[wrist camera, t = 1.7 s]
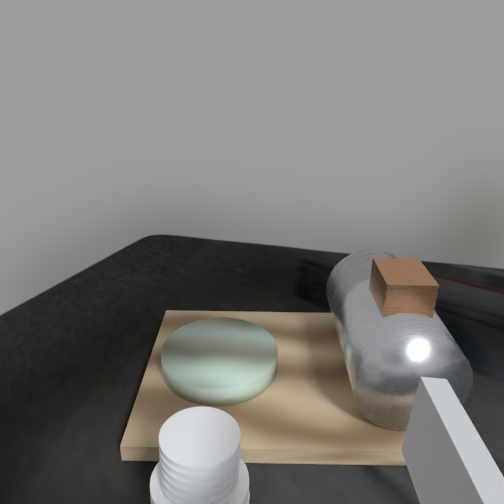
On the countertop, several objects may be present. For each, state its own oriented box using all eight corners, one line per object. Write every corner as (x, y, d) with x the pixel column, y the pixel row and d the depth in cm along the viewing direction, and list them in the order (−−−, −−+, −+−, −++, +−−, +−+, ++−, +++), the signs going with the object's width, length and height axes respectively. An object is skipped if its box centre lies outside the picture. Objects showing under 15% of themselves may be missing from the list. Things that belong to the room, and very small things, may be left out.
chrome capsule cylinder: (321, 315, 54) (329, 221, 49) (399, 316, 54) (415, 222, 49) (348, 430, 38) (364, 307, 33) (460, 432, 38) (492, 309, 33)
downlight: (184, 650, 25) (181, 520, 21) (115, 558, 30) (103, 436, 26) (281, 550, 30) (293, 432, 27) (211, 485, 35) (212, 375, 31)
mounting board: (166, 321, 55) (165, 295, 53) (396, 325, 55) (401, 298, 53) (121, 460, 36) (117, 426, 35) (466, 466, 36) (476, 432, 35)
